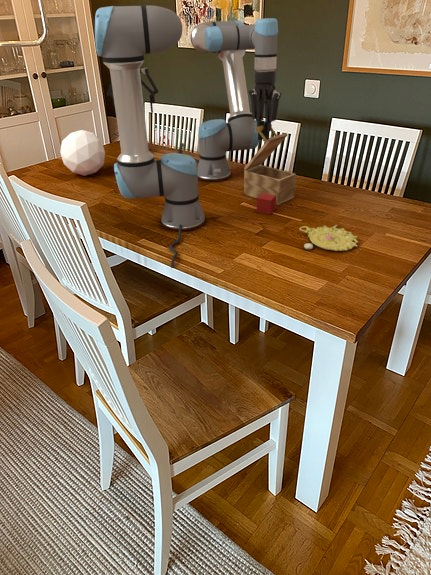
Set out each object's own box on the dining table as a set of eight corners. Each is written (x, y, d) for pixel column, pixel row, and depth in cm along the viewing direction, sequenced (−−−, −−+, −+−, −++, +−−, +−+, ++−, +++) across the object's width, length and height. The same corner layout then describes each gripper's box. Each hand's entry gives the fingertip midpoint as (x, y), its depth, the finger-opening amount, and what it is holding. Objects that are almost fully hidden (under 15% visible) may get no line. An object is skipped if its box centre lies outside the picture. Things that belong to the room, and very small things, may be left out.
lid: (288, 134, 163) (275, 117, 164) (270, 140, 157) (258, 122, 158) (261, 164, 178) (250, 148, 178) (244, 170, 172) (233, 153, 173)
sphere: (92, 190, 205) (77, 164, 186) (61, 170, 209) (44, 142, 190) (118, 162, 209) (107, 134, 191) (87, 142, 214) (73, 113, 195)
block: (275, 209, 164) (276, 195, 161) (270, 214, 160) (270, 200, 157) (262, 206, 166) (262, 193, 163) (256, 211, 162) (256, 198, 159)
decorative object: (343, 255, 128) (285, 234, 139) (342, 262, 130) (284, 241, 140) (372, 230, 142) (317, 213, 152) (371, 237, 143) (316, 219, 153)
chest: (294, 197, 173) (295, 173, 168) (278, 205, 167) (279, 180, 162) (260, 187, 183) (260, 164, 178) (244, 194, 177) (244, 170, 172)
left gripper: (160, 52, 174) (165, 109, 185) (95, 55, 171) (104, 113, 182) (161, 54, 167) (166, 113, 179) (94, 56, 165) (103, 116, 176)
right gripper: (289, 70, 151) (285, 141, 164) (256, 68, 160) (254, 135, 173) (275, 73, 146) (272, 145, 159) (242, 70, 155) (242, 138, 168)
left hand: (135, 113), depth 181 cm, fingers open, 13 cm apart
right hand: (263, 139), depth 166 cm, fingers closed on lid, 2 cm apart
